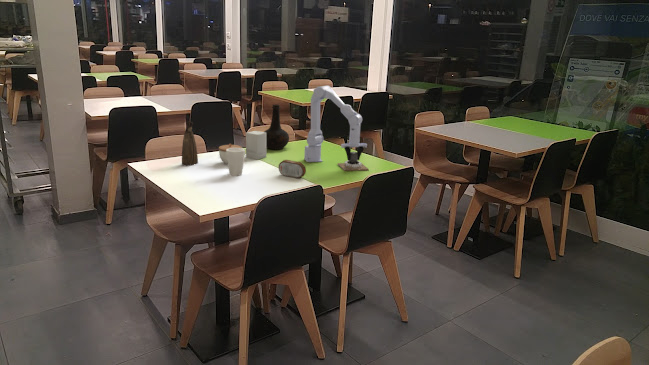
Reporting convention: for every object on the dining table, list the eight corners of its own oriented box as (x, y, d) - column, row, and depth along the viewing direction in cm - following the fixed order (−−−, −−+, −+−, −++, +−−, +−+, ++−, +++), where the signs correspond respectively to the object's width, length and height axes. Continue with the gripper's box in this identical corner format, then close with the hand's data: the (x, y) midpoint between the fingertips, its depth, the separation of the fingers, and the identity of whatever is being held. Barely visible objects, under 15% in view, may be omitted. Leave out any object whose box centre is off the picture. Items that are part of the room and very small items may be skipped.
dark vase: (257, 149, 305) (257, 105, 297) (265, 144, 322) (265, 102, 314) (285, 152, 302) (285, 107, 294) (291, 146, 319) (292, 103, 311)
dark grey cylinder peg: (350, 164, 269) (350, 153, 268) (347, 162, 274) (348, 151, 272) (358, 164, 271) (359, 153, 269) (355, 161, 275) (356, 151, 274)
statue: (194, 166, 262) (190, 120, 255) (180, 166, 262) (176, 120, 255) (199, 162, 270) (195, 118, 263) (186, 162, 270) (182, 117, 264)
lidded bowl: (214, 163, 268) (214, 144, 265) (227, 159, 280) (226, 140, 276) (234, 167, 264) (233, 147, 261) (246, 162, 275) (245, 143, 272)
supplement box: (267, 157, 288) (267, 132, 284) (257, 159, 281) (257, 134, 277) (255, 154, 293) (255, 130, 288) (245, 157, 285) (245, 132, 281)
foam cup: (229, 177, 245) (229, 152, 241) (224, 172, 252) (223, 148, 249) (247, 175, 249) (247, 151, 245) (241, 171, 257) (241, 147, 253)
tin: (305, 178, 249) (306, 162, 246) (303, 179, 246) (303, 163, 244) (280, 173, 255) (280, 158, 252) (277, 175, 252) (277, 159, 250)
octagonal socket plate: (344, 171, 265) (344, 165, 264) (337, 164, 278) (337, 159, 277) (368, 170, 268) (369, 165, 268) (360, 163, 281) (360, 158, 280)
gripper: (344, 137, 262) (343, 162, 266) (369, 137, 266) (367, 161, 270) (340, 135, 269) (339, 158, 273) (365, 134, 273) (363, 158, 276)
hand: (353, 159), depth 272 cm, fingers closed on dark grey cylinder peg, 5 cm apart
